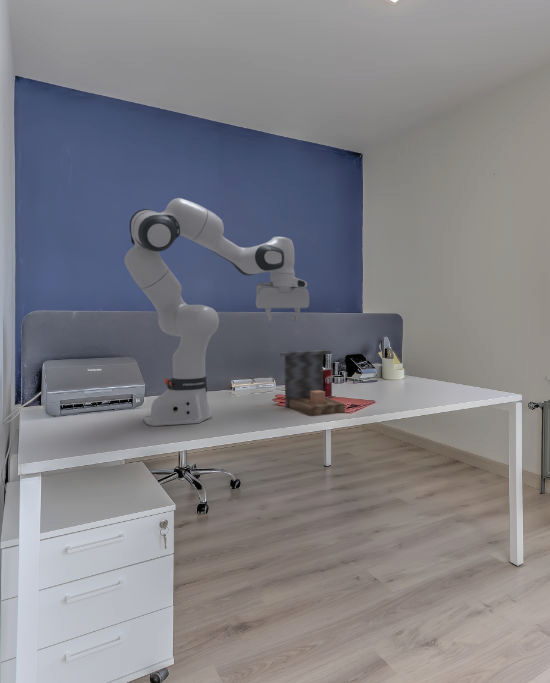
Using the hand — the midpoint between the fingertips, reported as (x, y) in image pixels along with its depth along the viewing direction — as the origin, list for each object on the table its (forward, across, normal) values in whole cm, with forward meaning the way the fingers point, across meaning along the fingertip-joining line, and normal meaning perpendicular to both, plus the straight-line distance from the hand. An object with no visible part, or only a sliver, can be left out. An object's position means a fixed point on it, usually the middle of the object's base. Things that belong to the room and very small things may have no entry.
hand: (283, 320), depth 169 cm
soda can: (+33, +26, +16) cm, 45 cm away
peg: (+33, +11, -6) cm, 35 cm away
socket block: (+33, +11, -4) cm, 35 cm away
